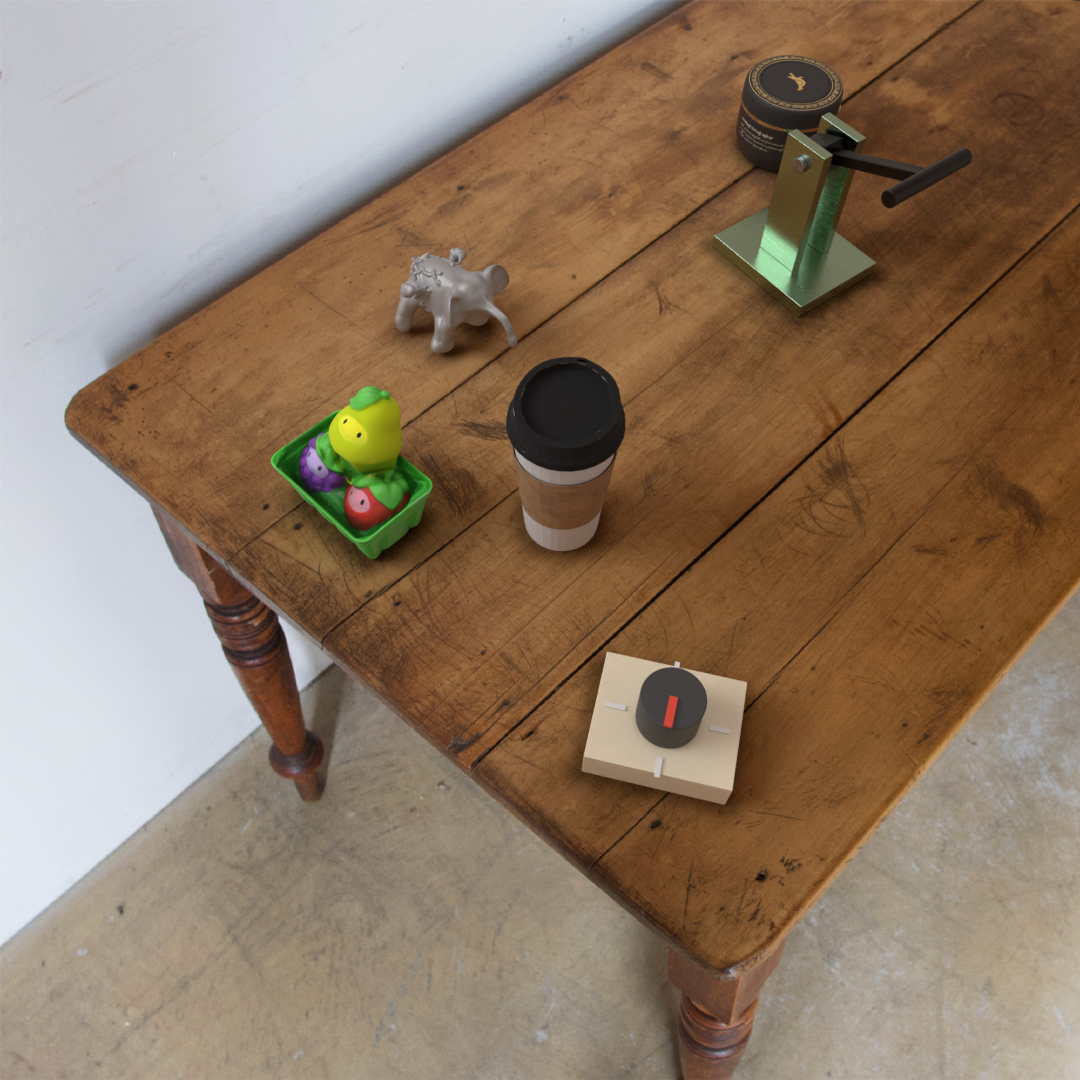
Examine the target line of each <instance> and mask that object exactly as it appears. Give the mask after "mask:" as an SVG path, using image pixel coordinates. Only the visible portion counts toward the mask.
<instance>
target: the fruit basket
mask: <svg viewBox="0 0 1080 1080" xmlns="http://www.w3.org/2000/svg"><path fill="white" fill-rule="evenodd" d="M401 416H402V413H401V409H400V406H399V404H398V402H397V401H396V399H394V398H393V397H392V396H391V392H390V391H388V390H384V389H383V390H382V389H381V388H379V387H377V386H375V385H368V386H364V387H362V388H360V390H358V392H357V393H356V395H355V396H354V397H351V398H350V399H349V404H348V405H346V406H344V407H343V408H342V409H337V410H335V411H333V412H331V413H330V414H329V415H327V416H326V417H325V418H323V419H322V420H319V421H318V422H317V423H315V424H313V426H311V427H310V428H308V429H307V430H305V431H303V432H302V433H301V434H299V435H298V436H297V437H296V438H294V439H292V440H291V441H290V442H288V443H287V444H285V445H283V446H282V447H281V448H280V449H279V450H278V451H276V452H275V453H274V454H273V455H272V456H271V459H270V464H271V466H272V467H273V468H274V469H275V470H276V472H277V473H278V474H279V475H280V476H282V477H283V478H284V479H285V480H286V481H287V482H288V483H289V484H290V485H291V486H292V487H293V488H294V490H295V491H296V492H297V493H298V495H299V496H300V497H301V498H302V499H303V500H304V501H306V503H308V504H309V505H310V506H311V507H313V508H315V509H316V510H317V512H318V513H319V514H320V515H321V516H322V517H323V518H324V519H325V520H327V521H328V523H330V524H331V525H333V526H335V528H337V530H338V531H339V532H340V533H341V534H342V535H343V536H344V537H345V538H346V539H347V540H349V541H350V542H351V543H354V544H355V545H356V546H357V548H358V549H359V550H360V551H361V552H362V553H363V554H364V555H365V556H367V558H368V559H369V560H372V561H373V560H376V559H377V558H379V556H380V554H382V552H383V551H385V550H387V549H389V548H391V547H392V546H393V545H394V544H395V543H397V542H398V541H399V540H401V538H403V537H404V536H405V535H406V534H407V533H408V532H409V529H412V528H414V527H416V526H418V525H419V524H420V522H421V519H422V516H423V513H424V509H425V506H426V502H427V500H428V499H429V497H430V495H431V493H432V489H433V481H432V480H431V479H430V477H428V476H427V475H425V474H424V473H423V472H422V471H421V470H419V468H417V467H416V466H415V465H414V464H412V463H411V462H410V461H409V460H408V459H407V458H405V457H404V456H403V455H402V454H400V452H401V450H402V446H403V442H404V441H403V430H402V426H401V418H402V417H401Z"/></svg>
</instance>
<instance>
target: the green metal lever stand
mask: <svg viewBox="0 0 1080 1080" xmlns="http://www.w3.org/2000/svg"><path fill="white" fill-rule="evenodd" d="M817 133H823V134H828V135H832V136H837V137H842V138H843V149H844V150H848V151H853V152H857V153H862V152H863V150H864V146H865V142H866V139H867V137H866V136H865V135H863V134H862V133H861V132H859V131H858V130H856V129H855V128H853V127H852V126H851V125H849V124H847V123H846V122H844V121H843V120H841V119H840V118H838V116H837V117H836V116H834V115H833V114H831V113H830V112H829V113H827V114H825V115H823V116H822V117H821V120H820V124H819V127H818V131H817ZM832 157H833V155H832V154H831V153H830V152H828V151H827V150H825V149H824V148H823V147H821V146H820V145H818V144H817V143H816V142H814V141H813V140H811V139H810V138H809V137H807V136H806V135H804V134H803V133H802V132H800V131H799V130H797V129H795V130H793V131H791V132H789V133H788V136H787V140H786V144H785V148H784V152H783V156H782V160H781V164H780V168H779V172H778V173H777V177H776V182H775V185H774V189H773V192H772V197H771V202H770V205H768V206H766V207H765V208H762V209H760V210H759V211H757V212H755V213H753V214H751V215H749V216H747V217H746V218H744V219H742V220H740V221H738V222H736V223H734V224H732V225H731V226H729V227H727V228H725V229H723V230H721V231H720V232H718V233H716V234H714V235H713V239H712V245H711V246H712V248H714V249H715V250H716V251H717V252H718V253H719V254H720V255H722V257H724V258H726V259H727V260H728V261H729V262H730V263H731V264H733V265H734V266H735V267H736V268H737V269H738V270H740V271H741V272H742V273H743V274H745V275H746V276H747V277H748V278H749V279H751V280H752V281H753V282H754V283H755V284H757V285H758V286H759V287H760V288H762V289H763V291H765V292H767V293H768V295H770V296H771V297H772V298H773V299H775V300H776V301H777V302H778V303H780V304H781V305H782V306H783V307H784V308H786V309H787V310H788V311H789V312H791V313H792V314H793V315H794V316H795V317H796V318H800V317H802V316H803V315H805V314H807V313H808V312H810V311H812V310H813V309H815V308H817V307H818V306H820V305H822V304H824V303H826V302H827V301H829V300H831V299H833V297H836V296H837V295H839V294H840V293H842V292H843V291H846V290H847V289H850V288H851V287H852V286H854V285H856V284H858V283H859V282H861V281H863V280H864V279H865V278H867V277H870V275H873V273H874V270H875V268H876V265H877V262H876V261H875V260H874V259H872V258H871V257H869V256H868V255H867V254H866V253H865V252H863V251H861V249H859V248H858V247H857V246H855V245H854V244H853V243H851V242H850V241H849V240H847V239H846V238H845V237H843V235H841V234H840V233H838V232H837V229H838V225H839V222H840V219H841V216H842V213H843V211H844V207H845V205H846V201H847V198H848V195H849V192H850V189H851V185H852V182H853V180H854V176H855V173H856V170H853V169H849V168H845V167H841V166H840V167H838V168H836V169H835V170H833V171H831V172H829V173H828V170H829V167H830V164H831V160H832Z"/></svg>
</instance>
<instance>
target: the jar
mask: <svg viewBox="0 0 1080 1080" xmlns="http://www.w3.org/2000/svg"><path fill="white" fill-rule="evenodd" d="M740 95H741V96H740V105H739V109H738V116H737V120H736V127H735V134H736V144H737V147H738V150H739V151H740V153H741V154H742V156H743V157H744V158H745V160H746V161H748V162H749V163H750V164H751V165H753V166H755V167H757V168H759V169H761V170H764V171H766V172H771V173H776V174H778V172H779V168H780V164H781V160H782V156H783V152H784V148H785V144H786V140H787V136H788V133H789V132H791V131H793V130H795V129H797V130H799V131H800V132H802V133H803V134H804V135H806V136H807V137H811V136H813V135H815V134H817V131H818V127H819V124H820V120H821V117H822V116H823V115H825V114H827V113H829V112H830V113H831V114H833V115H834V116H836V117H837V118H838V117H839V114H840V112H841V107H842V100H843V96H844V85H843V81H842V79H841V77H840V76H839V74H838V73H837V71H836V70H834V69H832V67H830V66H829V65H827V64H825V63H824V62H821V61H820V60H817V59H815V58H811V57H808V56H804V55H796V54H780V55H774V56H769V57H767V58H763V59H761V60H760V61H758V62H757V63H755V64H754V65H753V66H752V67H751V68H750V69H749V70H748V72H747V74H746V76H745V79H744V82H743V87H742V90H741V94H740Z"/></svg>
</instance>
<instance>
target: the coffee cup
mask: <svg viewBox="0 0 1080 1080" xmlns="http://www.w3.org/2000/svg"><path fill="white" fill-rule="evenodd" d="M620 392H621V391H620V388H619V385H618V383H617V381H616V380H615V378H614V377H613V375H612V374H611V373H610V372H609V371H607V370H606V368H604V367H603V366H601V365H600V364H597V363H596V362H594V361H592V360H590V359H588V358H585V357H582V356H562V357H555V358H550V359H547V360H544V361H541V362H540V363H538V364H537V365H535V366H534V367H532V368H531V369H530V370H529V371H528V372H526V374H525V375H524V376H523V377H522V379H521V380H520V381H519V383H518V385H517V386H516V389H515V392H514V395H513V398H512V399H511V401H510V403H509V405H508V409H507V412H506V418H505V429H506V434H507V437H508V440H509V441H510V444H511V452H512V458H513V463H514V469H515V475H516V481H517V486H518V489H519V490H518V491H519V496H520V502H521V508H522V514H523V515H522V516H523V522H524V527H525V530H526V532H527V534H528V535H529V537H530V538H531V540H533V542H535V543H536V544H537V545H539V546H541V547H542V548H544V549H548V550H550V551H555V552H568V551H573V550H577V549H579V548H581V547H583V546H585V545H586V544H587V543H589V541H590V540H591V539H592V538H593V537H594V536H595V533H596V531H597V528H598V525H599V521H600V516H601V512H602V510H603V509H602V508H603V507H604V503H605V499H606V496H607V493H608V489H609V485H610V482H611V478H612V474H613V471H614V467H615V464H616V461H617V455H618V452H619V448H620V446H621V444H622V443H623V441H624V439H625V435H626V430H627V428H626V413H625V409H624V406H623V402H622V397H621V393H620Z"/></svg>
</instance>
